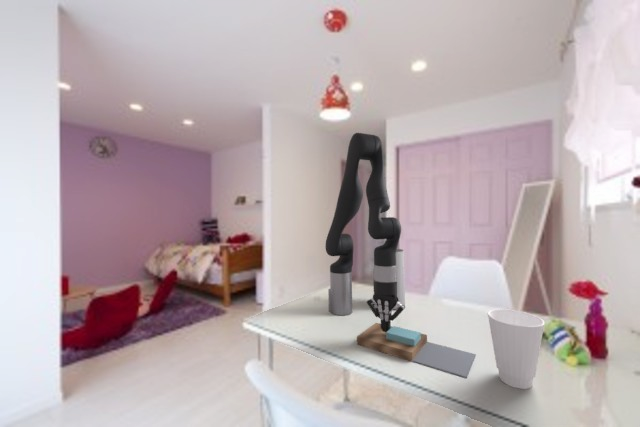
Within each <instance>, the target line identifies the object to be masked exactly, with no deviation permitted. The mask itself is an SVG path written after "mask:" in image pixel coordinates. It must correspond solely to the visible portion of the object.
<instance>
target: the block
mask: <svg viewBox="0 0 640 427" xmlns="http://www.w3.org/2000/svg"><path fill="white" fill-rule="evenodd" d="M392 327H393V326H391V328H392ZM391 328H390V329H391ZM426 342H428V335H427V334H424V333H421V339H420V341H419V342H418V343H417V344H416V345H415V346H411V345H407V344H404V343H400V342H397V341H393V340H389V339H386V332H383V331H382V329H381V322H380V323H379V322H374V324H372V325H370V326H369V327H368V328H367V329H365V330H364V331H362V332H361V333H360V334H359V335H357V336H356V345H358V346H361V347H365V348H368V349H371V350H374V351H378V352H381V353H383V354H388V355H389V356H390V355H391V356H393V357H397V358H400V359H403V360H407V361H410V362H413V361H412V360H413V359H414V358H415V356H416V355H417V354H418V353H419V351H420V350H421V349H422V348H423V346H424V345H425V344H426Z"/></svg>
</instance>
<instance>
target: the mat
mask: <svg viewBox="0 0 640 427" xmlns="http://www.w3.org/2000/svg"><path fill="white" fill-rule="evenodd" d="M476 356H477V354H476V353H472V352H469V351H465V350H460V349H457V348H452V347H448V346H446V345H441V344H438V343H434V342H429V341H427V342H426V344H425V345H424V346H423V348H422V349H421V350H420V351H419V353H418V354H417V355H416V356H415V358H414V359H413V360H412V361H411V362H412V363H416V364H419V365H422V366H427V367H430V368H433V369H434V370H435V369H436V370H440V371H441V372H442V371H443V372H446V373H449V374H452V375H455V376H458V377H462V378H465V379H468V376H469V373H470V371H471V368H472V365H473V363H474V361H475V358H476Z"/></svg>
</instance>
